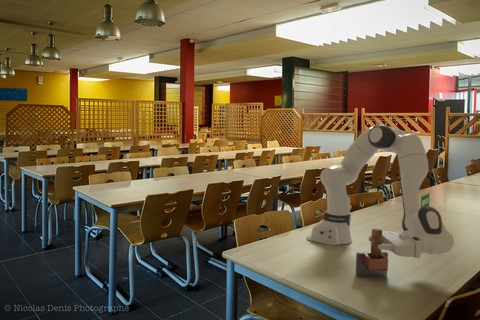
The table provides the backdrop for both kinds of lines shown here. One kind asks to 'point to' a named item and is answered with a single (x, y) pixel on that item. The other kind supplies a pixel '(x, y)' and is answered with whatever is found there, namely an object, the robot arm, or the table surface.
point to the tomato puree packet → (425, 200)
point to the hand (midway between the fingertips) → (373, 242)
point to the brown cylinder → (376, 243)
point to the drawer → (371, 265)
